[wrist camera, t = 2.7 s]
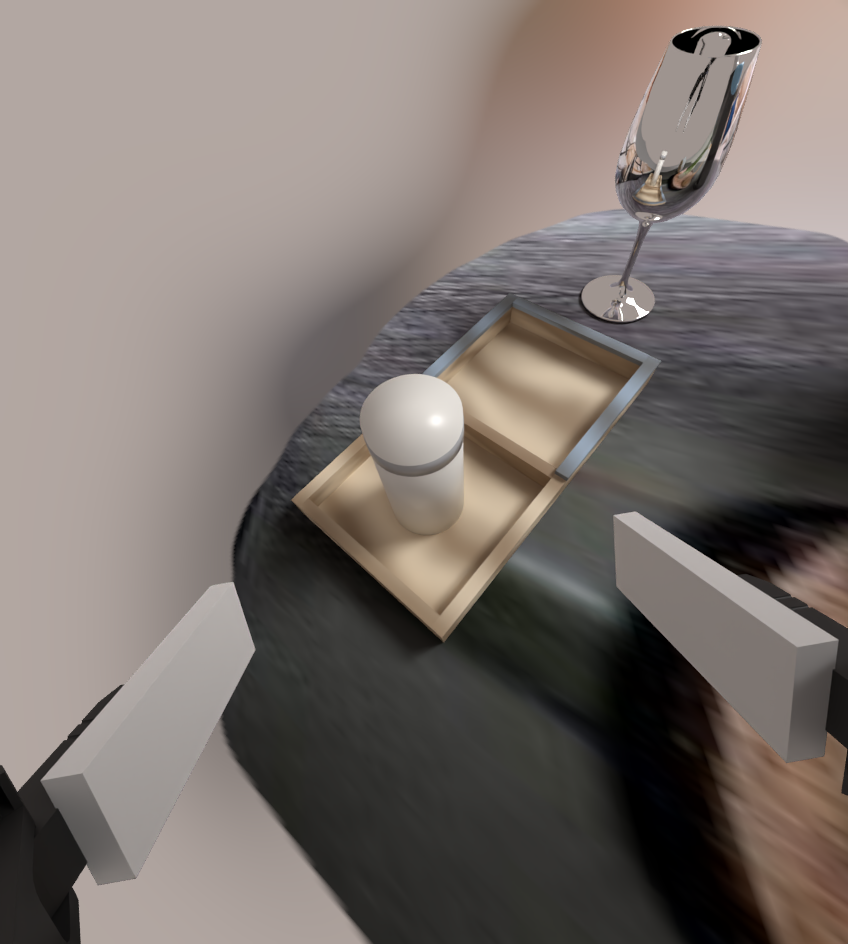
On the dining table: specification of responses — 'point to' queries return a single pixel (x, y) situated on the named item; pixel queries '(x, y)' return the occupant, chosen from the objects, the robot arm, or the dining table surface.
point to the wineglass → (676, 146)
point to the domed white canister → (417, 449)
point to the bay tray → (487, 456)
